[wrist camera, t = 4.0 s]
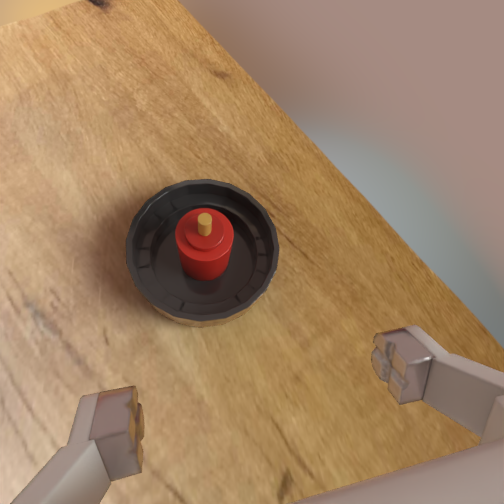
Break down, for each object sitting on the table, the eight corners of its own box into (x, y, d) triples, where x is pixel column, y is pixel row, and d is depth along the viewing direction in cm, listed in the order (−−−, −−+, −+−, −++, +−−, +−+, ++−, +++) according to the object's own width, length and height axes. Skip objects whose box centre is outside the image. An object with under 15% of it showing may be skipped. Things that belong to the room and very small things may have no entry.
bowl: (107, 284, 36) (92, 271, 31) (182, 181, 41) (179, 156, 37) (231, 353, 35) (235, 350, 31) (290, 238, 41) (301, 221, 36)
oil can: (170, 266, 37) (159, 229, 27) (196, 227, 39) (193, 180, 29) (213, 289, 36) (217, 260, 27) (237, 249, 38) (247, 209, 29)
